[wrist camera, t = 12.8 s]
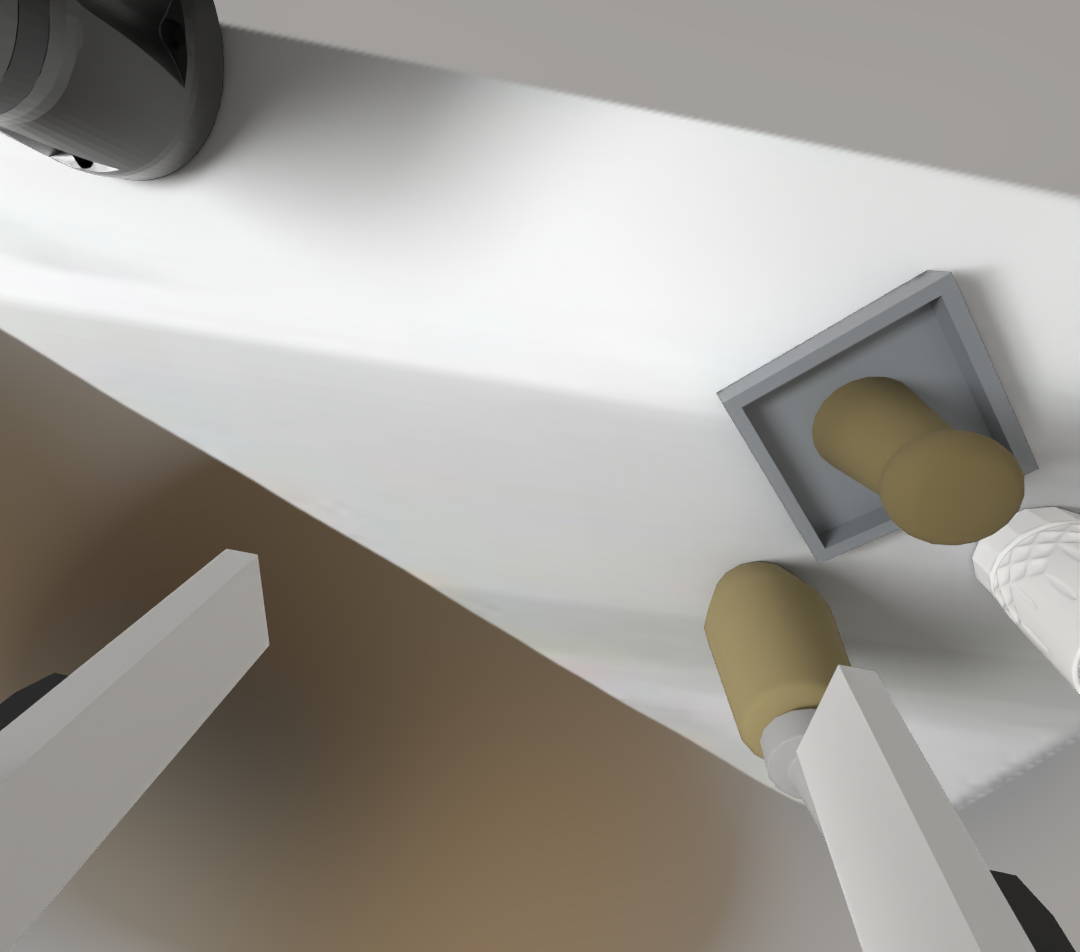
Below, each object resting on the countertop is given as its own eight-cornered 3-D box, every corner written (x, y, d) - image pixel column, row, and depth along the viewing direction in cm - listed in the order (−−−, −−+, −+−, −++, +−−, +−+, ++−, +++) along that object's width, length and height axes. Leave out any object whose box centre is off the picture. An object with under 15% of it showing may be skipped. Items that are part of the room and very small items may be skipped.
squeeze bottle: (832, 618, 39) (978, 890, 22) (724, 652, 41) (784, 918, 25) (791, 529, 36) (919, 757, 20) (680, 570, 39) (713, 802, 23)
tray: (716, 393, 34) (722, 403, 31) (927, 270, 29) (951, 272, 27) (806, 544, 37) (818, 563, 34) (1010, 453, 32) (1039, 468, 30)
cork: (812, 383, 32) (895, 444, 22) (926, 369, 31) (1069, 427, 21) (811, 476, 34) (885, 570, 24) (917, 467, 33) (1042, 562, 23)
